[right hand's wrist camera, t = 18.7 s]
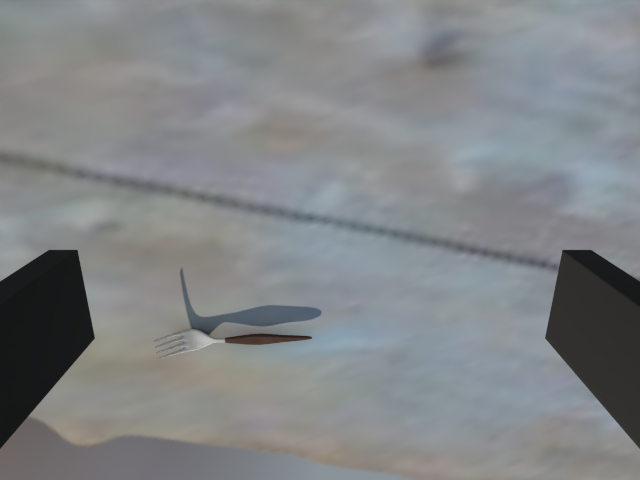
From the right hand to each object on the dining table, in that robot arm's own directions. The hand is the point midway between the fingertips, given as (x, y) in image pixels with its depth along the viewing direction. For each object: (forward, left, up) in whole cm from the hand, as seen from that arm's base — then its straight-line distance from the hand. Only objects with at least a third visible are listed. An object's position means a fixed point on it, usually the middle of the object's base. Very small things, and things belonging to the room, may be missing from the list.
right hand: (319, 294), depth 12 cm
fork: (+17, -14, -30) cm, 38 cm away
